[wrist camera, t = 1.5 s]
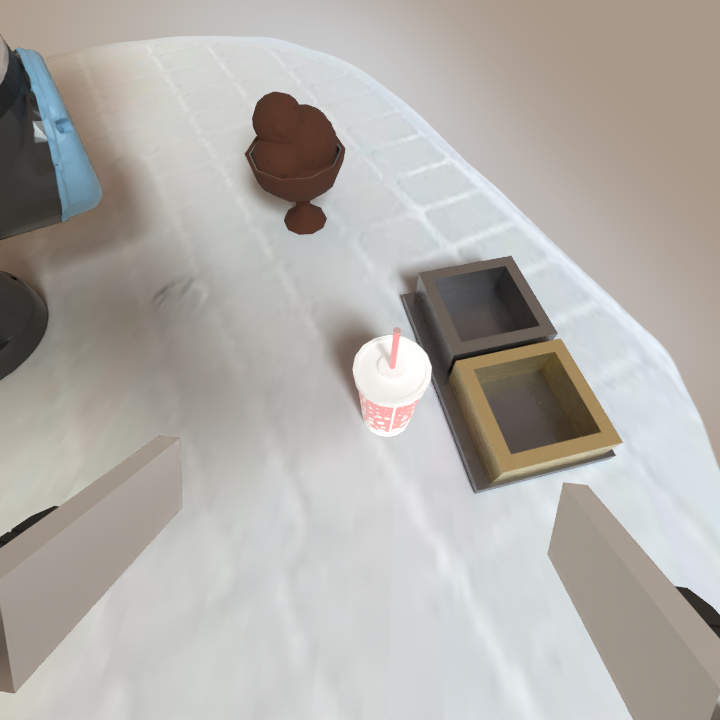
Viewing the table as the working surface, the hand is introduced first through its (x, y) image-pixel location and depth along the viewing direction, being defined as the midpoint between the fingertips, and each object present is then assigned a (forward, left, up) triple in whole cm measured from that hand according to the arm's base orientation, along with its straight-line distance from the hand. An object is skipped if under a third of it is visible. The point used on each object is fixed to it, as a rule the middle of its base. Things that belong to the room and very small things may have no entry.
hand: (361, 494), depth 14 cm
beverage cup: (-11, +5, -22) cm, 25 cm away
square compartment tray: (-13, +17, -22) cm, 31 cm away
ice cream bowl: (-40, +2, -22) cm, 46 cm away
